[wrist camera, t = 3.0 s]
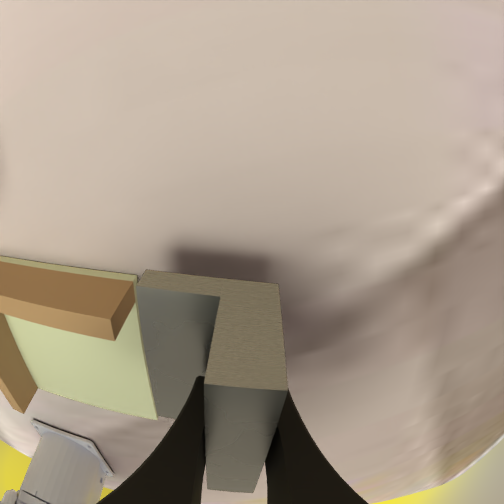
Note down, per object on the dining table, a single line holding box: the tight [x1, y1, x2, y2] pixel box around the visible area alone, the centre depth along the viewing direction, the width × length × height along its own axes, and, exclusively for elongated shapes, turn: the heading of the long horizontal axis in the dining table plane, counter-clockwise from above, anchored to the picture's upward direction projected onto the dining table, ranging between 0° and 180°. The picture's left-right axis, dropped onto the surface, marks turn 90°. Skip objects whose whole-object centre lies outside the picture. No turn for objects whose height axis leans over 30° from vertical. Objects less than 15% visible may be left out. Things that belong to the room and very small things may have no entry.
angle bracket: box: [136, 270, 288, 493], centre depth 11 cm, size 8×5×5 cm, turn 174°
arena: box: [0, 256, 158, 420], centre depth 15 cm, size 12×12×4 cm
